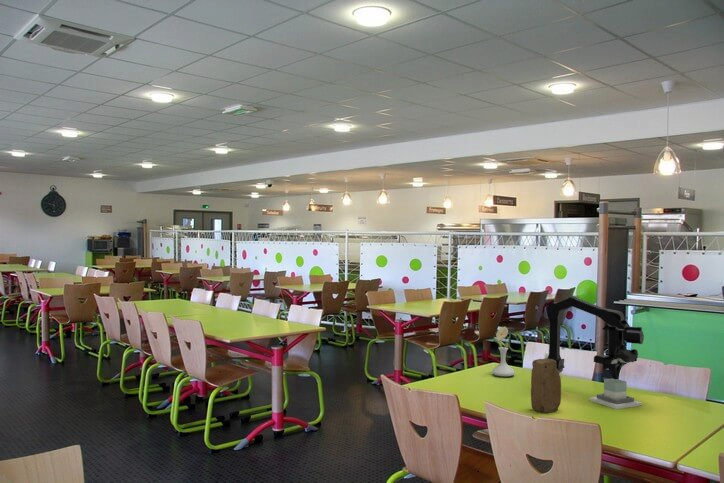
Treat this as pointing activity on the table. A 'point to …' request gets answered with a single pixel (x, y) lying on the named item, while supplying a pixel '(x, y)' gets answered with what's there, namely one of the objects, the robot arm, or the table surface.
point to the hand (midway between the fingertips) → (615, 379)
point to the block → (545, 386)
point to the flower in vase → (503, 356)
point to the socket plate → (615, 401)
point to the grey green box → (615, 388)
